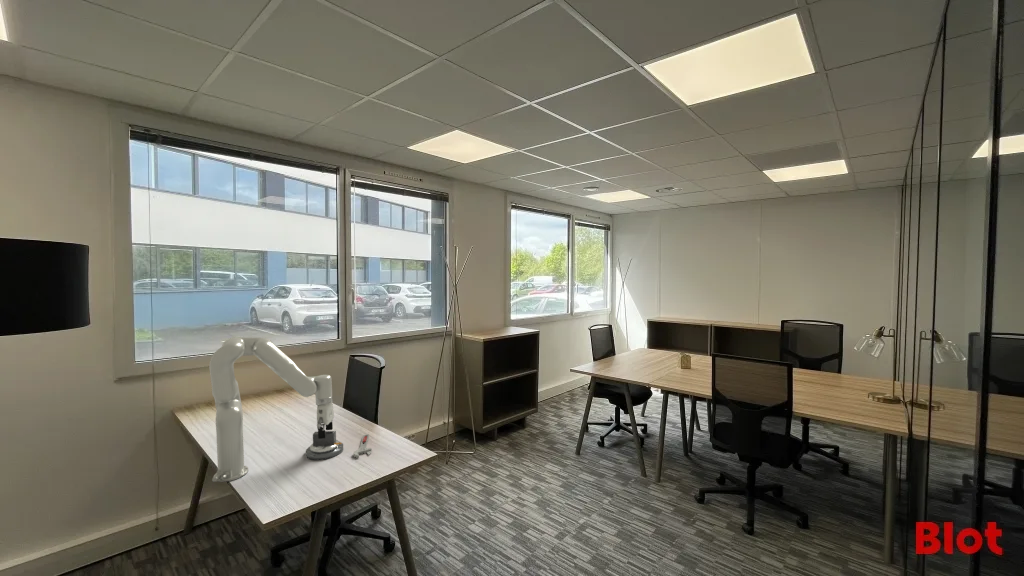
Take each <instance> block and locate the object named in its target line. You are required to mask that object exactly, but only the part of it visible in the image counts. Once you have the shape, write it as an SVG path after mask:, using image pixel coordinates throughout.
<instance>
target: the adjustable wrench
mask: <svg viewBox="0 0 1024 576" xmlns="http://www.w3.org/2000/svg"><path fill="white" fill-rule="evenodd" d="M369 436H370V435H369V434H364V435H363V436H362V437H361V442H360V445H359V448H358V449H357V450H355V451H353V453H352V454H353V457H354V458H355V457H356V458H355V459H358V458H359V459H360V455H359V454H361V455H364V454H363V453H365V454H367V455H368V456H369V455H371V453H372V452H373V450H372V447H367V444H368V442H369V438H370V437H369ZM363 443H364V444H363Z"/></svg>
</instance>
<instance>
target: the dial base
mask: <svg viewBox="0 0 1024 576" xmlns="http://www.w3.org/2000/svg"><path fill="white" fill-rule="evenodd" d="M339 443H342V444H339V446H338V448H336V449H335V450H333V451H330V452H326V453H312V452H311V451H310V446H308V447H307V448H306V449H305V457H306V458H307V460H310V461H324V460H325V461H326V460H328V459H332V458H335V457H337V456H339V455H340V454H342V453H343V451H344V443H343V442H341V441H339Z"/></svg>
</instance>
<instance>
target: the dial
mask: <svg viewBox="0 0 1024 576" xmlns="http://www.w3.org/2000/svg"><path fill="white" fill-rule="evenodd" d="M325 436H326V437H325V438H321V439H319V438H318V431H314V433H312V444H310V446H309V447H310V451H311V452H312V453H326V452H330V451H333V450H335V449H336V448H338V446H339V444H342V443H343V442H341V443H339V442H340V441H339V440H338V439H337V431H336V430H325Z"/></svg>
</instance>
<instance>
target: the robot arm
mask: <svg viewBox="0 0 1024 576" xmlns="http://www.w3.org/2000/svg"><path fill="white" fill-rule="evenodd" d="M242 356H255V358H257V359H258V360H259V361H260V362H262V363H263V364H264V365H266V366H267V367H268V368H269V369H270V370H271V371H272V372H273V373H274V374H275V375H277V376H278V377H279V378H281V379H282V380H283V381H284V382H286V383H287V385H289V386H290V387H291V388H292V389H294V390H295V391H296V392H297V393H298V394H300V396H303V397H306V398H308V397H309V398H310V397H312V396H313V395H314V394H315V397H314V398H315V405H316V427H317V432H318V438H319V439H321V438H325V437H326V436H325V431H333V420H334V418H335V414H334V405H333V385H332V384H333V382H332V380H333V379H332V376H331V375H329V374H320V375H317V376H315V375H314V376H307V375H306V374H305V373H304V372H303V371H302V370H301V369H300V368H299V366H297V364H296V363H295V362H294V361H293V360H292V359H291V358H290V357H289V356H288V355H287V354H286V353H284V351H282V350H281V349H280V348H279V347H277V346H276V345H275V344H274V343H273V342H272V340H271V339H269V338H266V337H244V336H243V337H236V336H235V337H230V338H228V339H225V341H224V342H223V343H222V346H221V347H220V348H218V349H217V350H216V351H215V352H214V353H213V354H212V356H211V358H210V360H209V365H208V366H209V367H208V368H209V374H210V383H211V384H210V385H211V394H212V397H213V398H214V404H215V409H216V412H215V433H216V437H215V438H216V454H217V456H216V457H217V458H216V459H217V470H216V473H215V474H214V475H213V477H212V479H211V481H212V482H217V483H224V482H225V483H226V482H231V481H234V480H237V479H239V478H242V477H243V476H245V475H247V474H248V472H249V467H248V466H247V465H245V453H244V452H245V450H244V425H243V423H244V421H243V420H244V414H243V413H244V412H243V405H242V399H241V393H240V388H239V381H238V380H236V376H235V367H234V365H235V362H236V360H238V359H240V358H241V357H242Z"/></svg>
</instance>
